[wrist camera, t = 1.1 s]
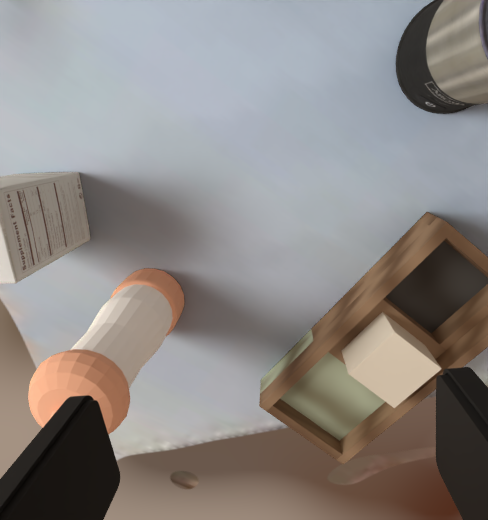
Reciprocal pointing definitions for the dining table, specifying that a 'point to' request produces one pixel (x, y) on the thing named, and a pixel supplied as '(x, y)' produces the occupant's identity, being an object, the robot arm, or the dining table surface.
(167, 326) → the pepper shaker
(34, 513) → the robot arm
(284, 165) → the dining table surface
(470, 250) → the box
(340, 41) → the dining table surface
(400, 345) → the cream block
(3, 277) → the supplement box
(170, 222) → the dining table surface
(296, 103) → the dining table surface
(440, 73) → the milk frother
